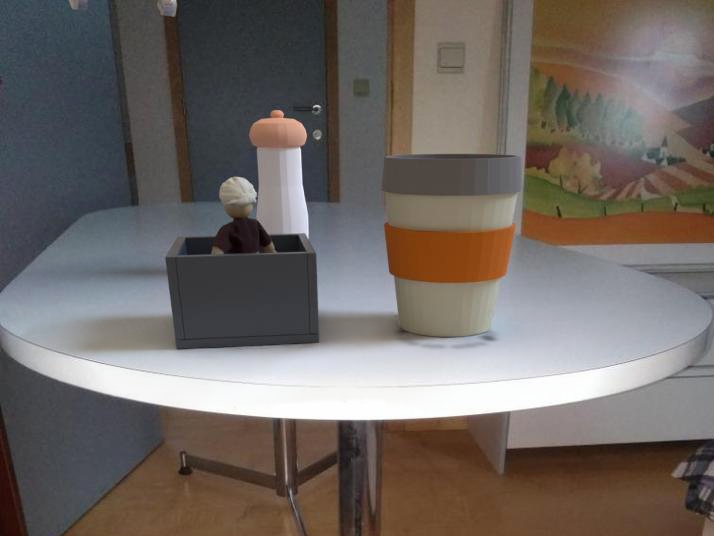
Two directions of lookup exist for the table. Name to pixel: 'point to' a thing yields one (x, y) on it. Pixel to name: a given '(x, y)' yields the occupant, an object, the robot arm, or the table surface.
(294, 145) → the pepper shaker
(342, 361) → the table surface
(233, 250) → the grandmother figurine
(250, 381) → the table surface
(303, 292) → the dark grey storage bin
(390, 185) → the reusable coffee cup
